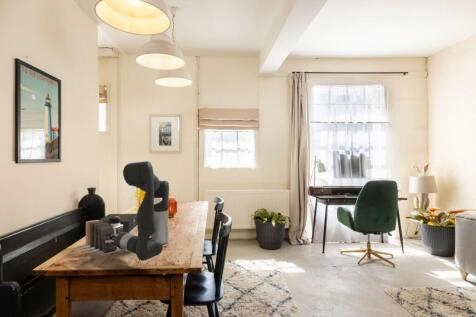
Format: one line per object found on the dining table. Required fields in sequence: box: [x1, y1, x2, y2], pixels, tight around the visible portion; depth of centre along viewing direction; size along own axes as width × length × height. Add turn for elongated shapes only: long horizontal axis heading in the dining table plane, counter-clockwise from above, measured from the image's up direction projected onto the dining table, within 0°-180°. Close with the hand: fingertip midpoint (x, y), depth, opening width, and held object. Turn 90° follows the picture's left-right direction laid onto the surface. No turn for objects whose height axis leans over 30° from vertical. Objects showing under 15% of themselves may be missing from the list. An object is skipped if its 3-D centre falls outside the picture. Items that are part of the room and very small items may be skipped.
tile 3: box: [94, 223, 108, 249], centre depth 150 cm, size 2×6×12 cm, turn 140°
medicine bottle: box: [109, 217, 123, 234], centre depth 171 cm, size 7×7×12 cm
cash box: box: [98, 213, 137, 233], centre depth 194 cm, size 25×20×8 cm
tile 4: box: [90, 221, 103, 248], centre depth 153 cm, size 2×6×12 cm, turn 140°
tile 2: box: [97, 224, 111, 251], centre depth 147 cm, size 2×6×12 cm, turn 140°
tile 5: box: [85, 219, 100, 246], centre depth 156 cm, size 2×6×12 cm, turn 140°
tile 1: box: [99, 225, 118, 253], centre depth 145 cm, size 2×6×12 cm, turn 140°
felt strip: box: [80, 243, 123, 256], centre depth 150 cm, size 24×10×1 cm, turn 50°
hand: (109, 235), depth 145 cm, fingers closed
